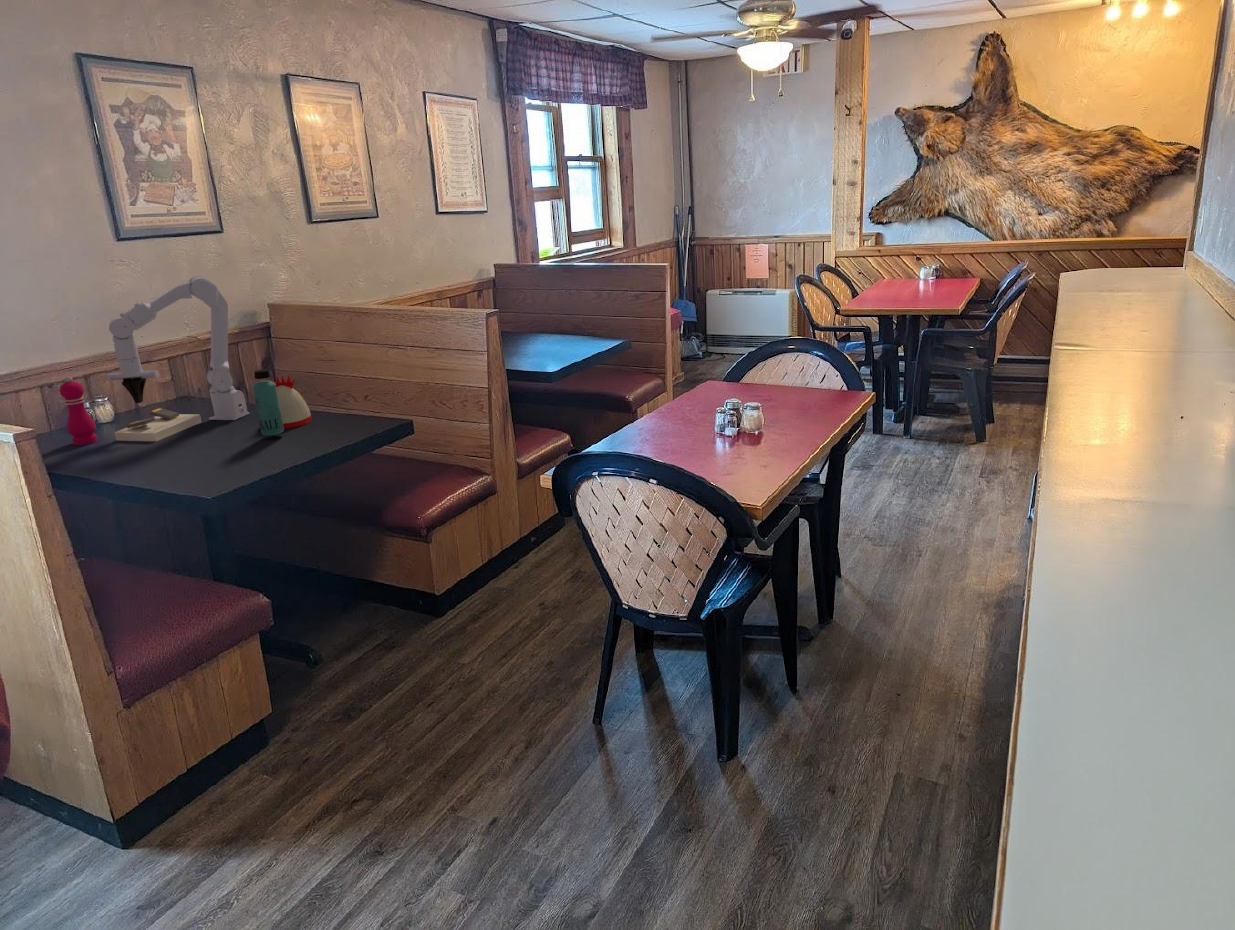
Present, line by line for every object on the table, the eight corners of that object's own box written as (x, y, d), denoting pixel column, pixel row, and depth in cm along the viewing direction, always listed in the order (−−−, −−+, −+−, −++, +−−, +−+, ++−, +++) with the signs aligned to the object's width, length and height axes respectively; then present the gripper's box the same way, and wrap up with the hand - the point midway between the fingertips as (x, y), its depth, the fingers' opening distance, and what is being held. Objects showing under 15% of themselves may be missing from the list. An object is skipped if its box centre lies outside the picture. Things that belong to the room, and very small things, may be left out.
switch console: (201, 422, 269) (199, 412, 268) (156, 441, 251) (154, 431, 250) (163, 421, 272) (161, 412, 271) (116, 440, 254) (113, 430, 253)
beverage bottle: (278, 432, 253) (265, 366, 247) (290, 436, 249) (277, 368, 243) (257, 438, 248) (244, 371, 242) (269, 441, 244) (256, 373, 238)
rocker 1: (155, 420, 257) (154, 416, 257) (146, 424, 253) (144, 420, 253) (137, 424, 259) (135, 421, 259) (127, 428, 255) (126, 425, 255)
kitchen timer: (311, 425, 259) (302, 377, 254) (262, 431, 255) (253, 382, 251) (311, 414, 272) (303, 368, 267) (265, 420, 268) (256, 373, 263)
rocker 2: (178, 415, 267) (178, 412, 266) (170, 419, 263) (169, 416, 263) (159, 411, 268) (158, 407, 267) (149, 414, 264) (149, 411, 264)
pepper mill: (86, 446, 250) (68, 379, 243) (65, 445, 251) (47, 379, 245) (105, 438, 257) (88, 373, 250) (84, 438, 258) (67, 373, 252)
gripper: (159, 353, 259) (169, 397, 263) (110, 357, 258) (121, 400, 263) (148, 358, 252) (158, 403, 256) (98, 362, 251) (109, 406, 256)
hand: (139, 402), depth 259 cm, fingers closed
